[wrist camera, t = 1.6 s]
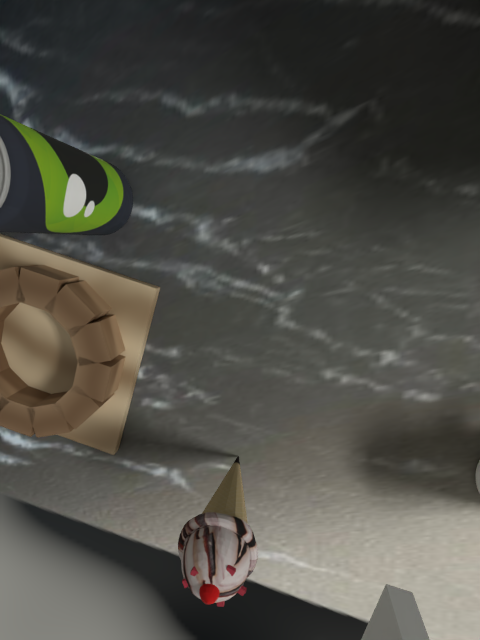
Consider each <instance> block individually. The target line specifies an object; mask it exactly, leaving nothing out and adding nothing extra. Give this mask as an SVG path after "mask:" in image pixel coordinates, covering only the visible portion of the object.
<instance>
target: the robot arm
mask: <svg viewBox="0 0 480 640" xmlns="http://www.w3.org/2000/svg"><path fill="white" fill-rule="evenodd" d="M361 640H429V637H428V634H427V631H426V629H425V626H424V623H423V620H422V618H421V615H420V612H419V609H418V607H417V604H416V601H415V598H414V596H413V593H412V592H409V591H406V590H403V589H400V588H397V587H394V586H390V585H387V584H386V586H385V588H384V590H383V592H382V595H381V597H380V599H379V601H378V603H377V606H376V608H375V610H374V612H373V615H372V617H371V619H370V621H369V623H368V626H367V628H366V630H365V633H364V635H363V637H362V639H361Z"/></svg>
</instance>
